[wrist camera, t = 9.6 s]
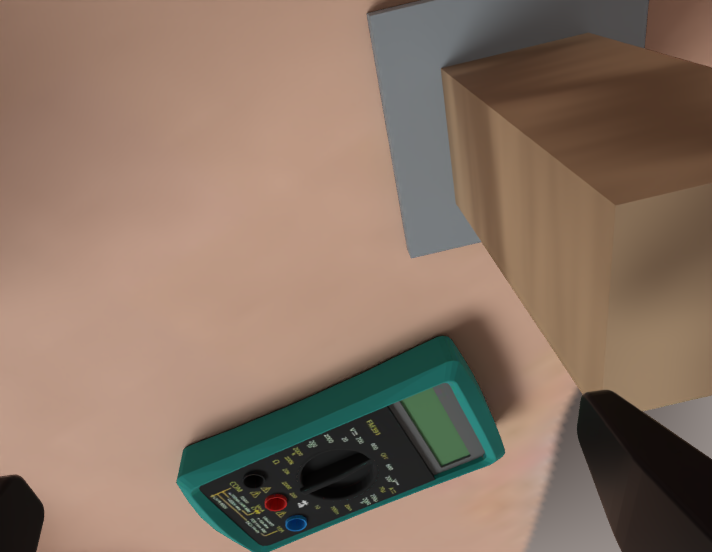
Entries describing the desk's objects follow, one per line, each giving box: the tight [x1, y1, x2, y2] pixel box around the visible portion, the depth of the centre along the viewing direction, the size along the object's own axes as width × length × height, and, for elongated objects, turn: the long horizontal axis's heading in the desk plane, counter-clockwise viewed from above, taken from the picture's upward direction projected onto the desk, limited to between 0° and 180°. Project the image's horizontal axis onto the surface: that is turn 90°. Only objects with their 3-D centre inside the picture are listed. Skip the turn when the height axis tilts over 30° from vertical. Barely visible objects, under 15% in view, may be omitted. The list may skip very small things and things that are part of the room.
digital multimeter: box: [176, 336, 505, 552], centre depth 27 cm, size 8×15×3 cm, turn 116°
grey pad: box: [367, 0, 649, 258], centre depth 19 cm, size 9×9×1 cm
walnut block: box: [441, 33, 712, 411], centre depth 14 cm, size 5×5×11 cm
